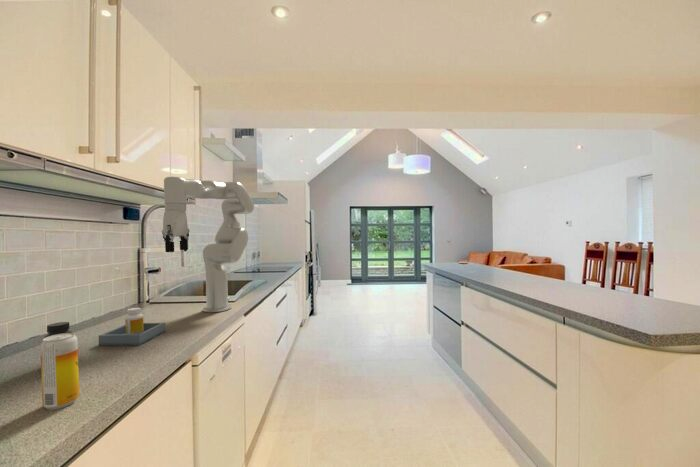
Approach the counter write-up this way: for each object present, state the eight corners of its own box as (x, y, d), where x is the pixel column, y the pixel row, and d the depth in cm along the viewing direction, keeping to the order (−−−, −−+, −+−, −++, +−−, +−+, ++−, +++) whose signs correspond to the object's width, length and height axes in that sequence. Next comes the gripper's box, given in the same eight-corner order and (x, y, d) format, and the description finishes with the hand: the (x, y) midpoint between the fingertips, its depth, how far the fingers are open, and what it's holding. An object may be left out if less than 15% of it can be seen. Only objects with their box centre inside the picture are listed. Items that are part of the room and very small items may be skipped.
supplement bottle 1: (75, 365, 91) (73, 323, 91) (42, 373, 87) (40, 329, 87) (75, 358, 97) (73, 319, 96) (43, 365, 92) (42, 323, 92)
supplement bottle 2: (147, 333, 116) (146, 307, 116) (136, 338, 111) (135, 310, 111) (133, 333, 117) (132, 307, 117) (121, 338, 111) (120, 310, 111)
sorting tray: (129, 332, 121) (128, 323, 121) (165, 331, 120) (165, 322, 120) (98, 345, 107) (98, 335, 107) (139, 345, 106) (139, 335, 106)
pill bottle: (85, 395, 75) (83, 331, 74) (67, 409, 69) (64, 340, 68) (56, 397, 74) (54, 333, 73) (34, 412, 68) (32, 342, 67)
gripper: (178, 209, 136) (180, 249, 136) (152, 207, 119) (154, 253, 119) (196, 209, 136) (197, 249, 136) (171, 206, 118) (173, 252, 119)
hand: (177, 251), depth 128 cm, fingers open, 9 cm apart
